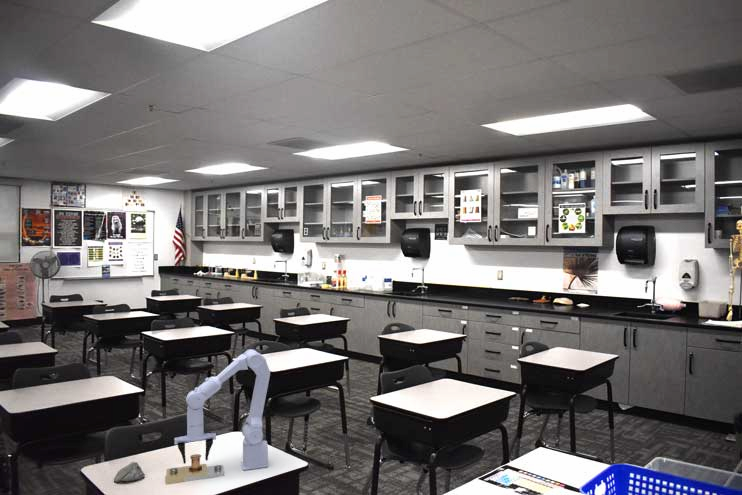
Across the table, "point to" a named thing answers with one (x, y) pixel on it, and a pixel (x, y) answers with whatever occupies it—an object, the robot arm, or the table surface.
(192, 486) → the table surface
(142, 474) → the gray rock
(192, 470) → the pin
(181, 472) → the wooden peg board
